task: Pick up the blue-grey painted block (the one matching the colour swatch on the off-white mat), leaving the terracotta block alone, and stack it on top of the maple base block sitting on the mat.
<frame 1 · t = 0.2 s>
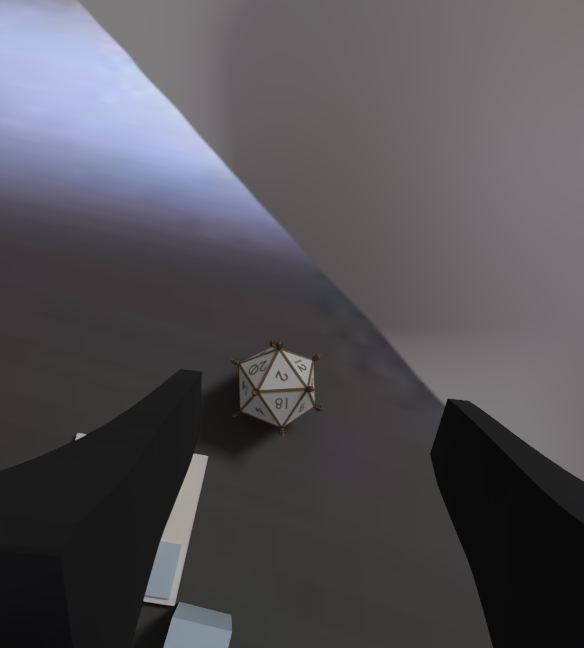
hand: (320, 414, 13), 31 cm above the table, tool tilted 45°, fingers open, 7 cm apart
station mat: (124, 514, 38), on the table
game die: (272, 395, 44), on the table
blue-grey block: (196, 639, 35), on the table
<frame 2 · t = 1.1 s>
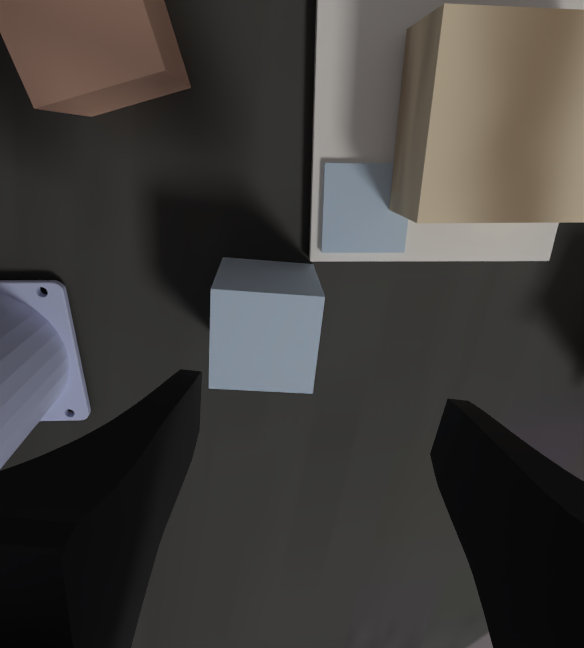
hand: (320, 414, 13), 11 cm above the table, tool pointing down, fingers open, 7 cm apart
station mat: (445, 127, 19), on the table
terracotta block: (120, 42, 18), on the table
maple base block: (475, 127, 19), point 1 cm above the table, touching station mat
blue-grey block: (265, 302, 22), on the table
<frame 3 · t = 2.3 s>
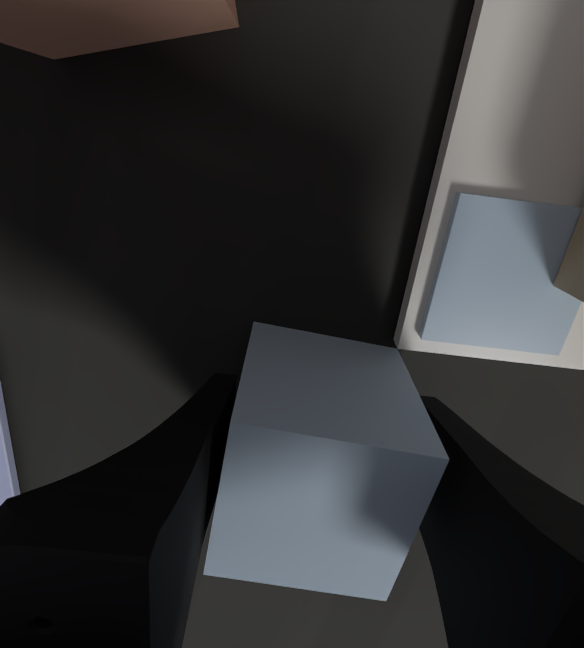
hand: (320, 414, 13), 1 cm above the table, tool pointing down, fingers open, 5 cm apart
blue-grey block: (310, 395, 14), on the table, touching gripper
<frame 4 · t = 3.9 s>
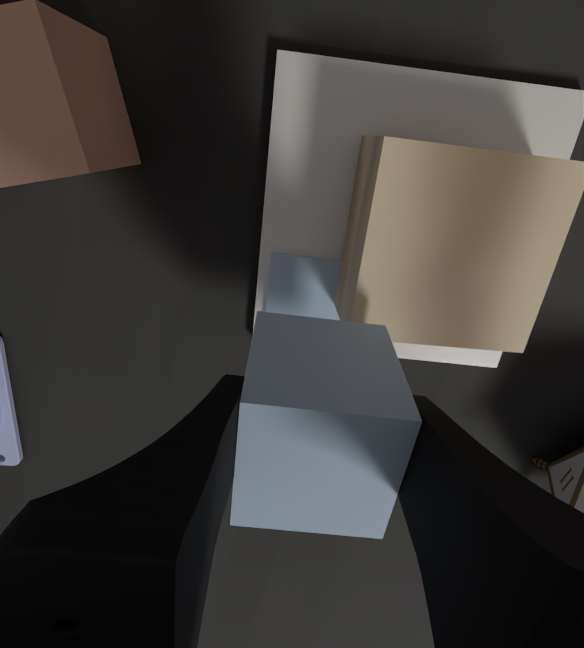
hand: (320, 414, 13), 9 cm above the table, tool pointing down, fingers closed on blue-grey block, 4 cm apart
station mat: (399, 229, 19), on the table
terracotta block: (71, 113, 17), on the table
maple base block: (427, 235, 18), point 1 cm above the table, touching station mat
blue-grey block: (312, 371, 16), point 5 cm above the table, touching gripper
when the fingers open (6 cm above the table, at t = 5.0 s): blue-grey block stays where it is, resting on maple base block.
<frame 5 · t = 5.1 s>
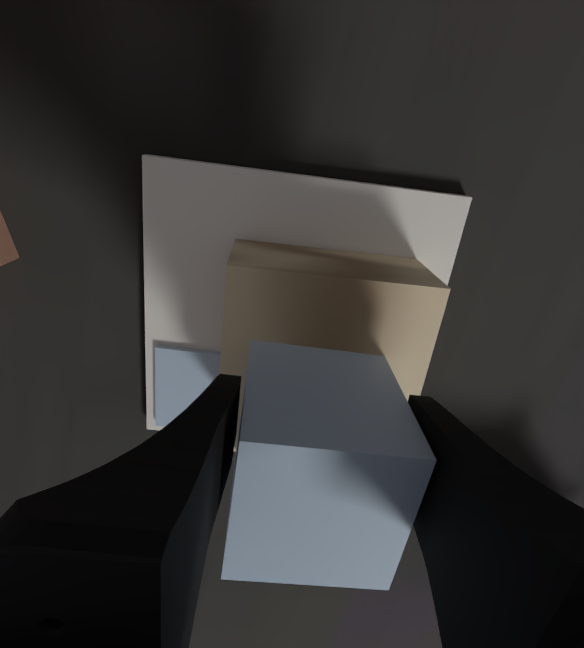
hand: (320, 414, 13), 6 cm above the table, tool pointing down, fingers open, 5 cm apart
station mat: (289, 321, 18), on the table
maple base block: (314, 331, 18), point 1 cm above the table, touching blue-grey block, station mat
blue-grey block: (307, 404, 15), point 4 cm above the table, touching maple base block
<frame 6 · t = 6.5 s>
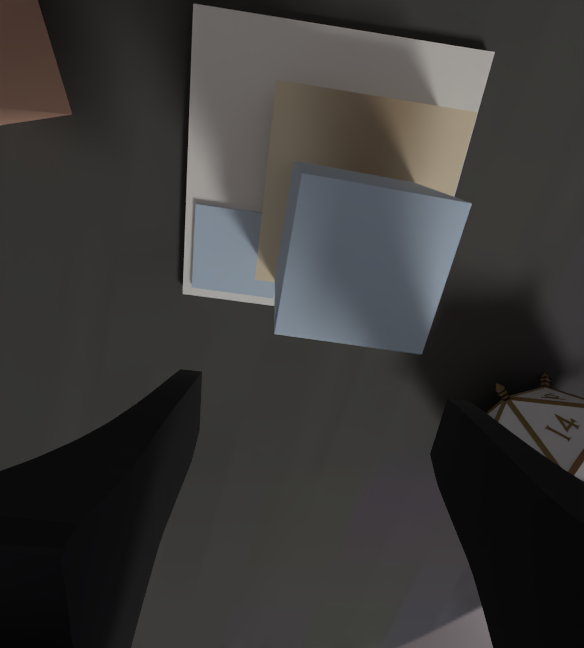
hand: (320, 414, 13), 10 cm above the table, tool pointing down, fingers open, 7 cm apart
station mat: (320, 184, 20), on the table
terracotta block: (3, 63, 18), on the table
maple base block: (344, 190, 19), point 1 cm above the table, touching blue-grey block, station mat
game die: (510, 412, 25), on the table
blue-grey block: (341, 233, 16), point 4 cm above the table, touching maple base block
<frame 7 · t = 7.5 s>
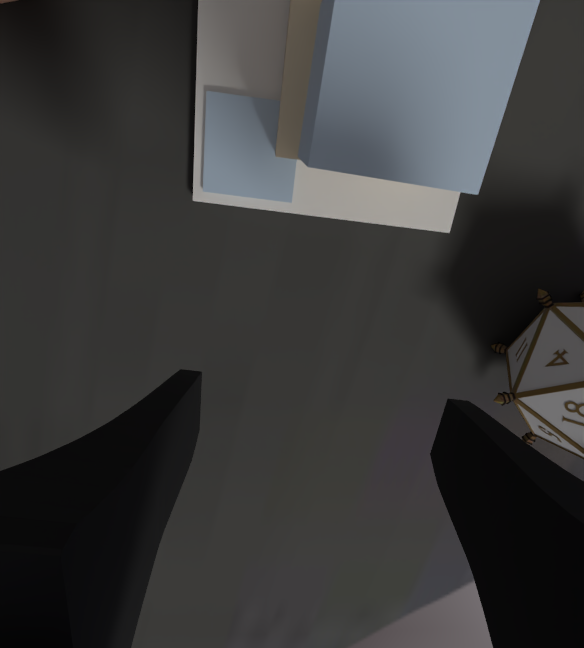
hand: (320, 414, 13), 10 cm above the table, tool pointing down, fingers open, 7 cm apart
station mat: (343, 70, 18), on the table
maple base block: (370, 71, 17), point 1 cm above the table, touching blue-grey block, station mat
game die: (546, 337, 23), on the table
blue-grey block: (373, 97, 15), point 4 cm above the table, touching maple base block
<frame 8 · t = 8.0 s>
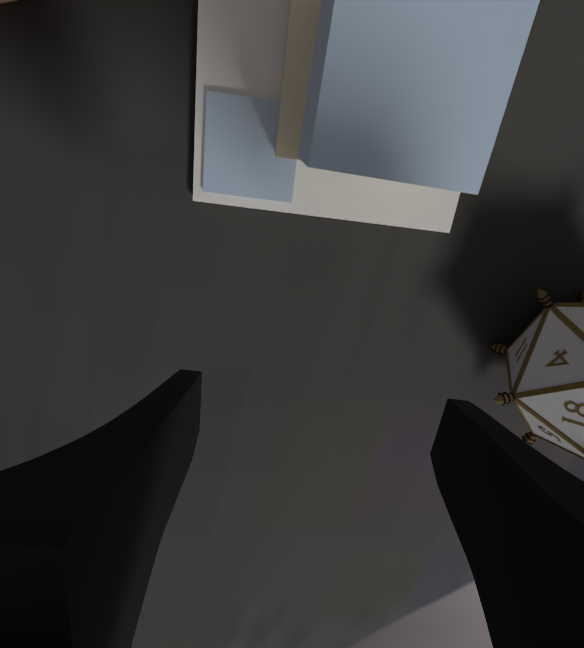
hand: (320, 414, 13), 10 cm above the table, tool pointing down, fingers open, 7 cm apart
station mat: (343, 70, 18), on the table
maple base block: (370, 71, 17), point 1 cm above the table, touching blue-grey block, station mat
game die: (546, 337, 23), on the table
blue-grey block: (373, 97, 15), point 4 cm above the table, touching maple base block
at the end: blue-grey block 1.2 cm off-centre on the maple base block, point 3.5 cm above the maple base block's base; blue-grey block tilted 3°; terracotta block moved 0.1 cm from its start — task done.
